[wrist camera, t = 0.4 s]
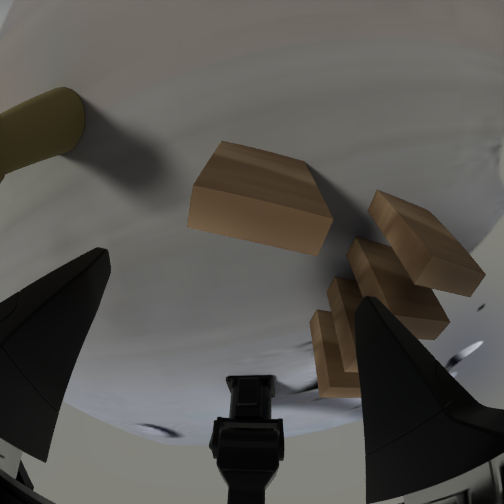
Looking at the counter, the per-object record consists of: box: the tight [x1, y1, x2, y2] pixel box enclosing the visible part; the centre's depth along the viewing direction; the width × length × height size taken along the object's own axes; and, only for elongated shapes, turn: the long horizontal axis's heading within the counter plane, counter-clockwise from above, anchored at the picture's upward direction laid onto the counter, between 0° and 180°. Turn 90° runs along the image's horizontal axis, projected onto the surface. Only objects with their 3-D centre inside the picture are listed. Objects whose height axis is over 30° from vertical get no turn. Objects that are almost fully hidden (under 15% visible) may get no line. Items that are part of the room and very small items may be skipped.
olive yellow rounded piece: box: [0, 87, 85, 183], centre depth 12 cm, size 6×6×11 cm
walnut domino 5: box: [346, 237, 450, 340], centre depth 19 cm, size 2×6×9 cm, turn 76°
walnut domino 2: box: [327, 277, 363, 372], centre depth 22 cm, size 2×6×9 cm, turn 76°
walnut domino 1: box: [187, 141, 334, 256], centre depth 15 cm, size 2×6×9 cm, turn 76°
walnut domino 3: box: [310, 310, 361, 398], centre depth 24 cm, size 2×6×9 cm, turn 76°
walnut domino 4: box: [368, 190, 486, 297], centre depth 17 cm, size 2×6×9 cm, turn 76°
